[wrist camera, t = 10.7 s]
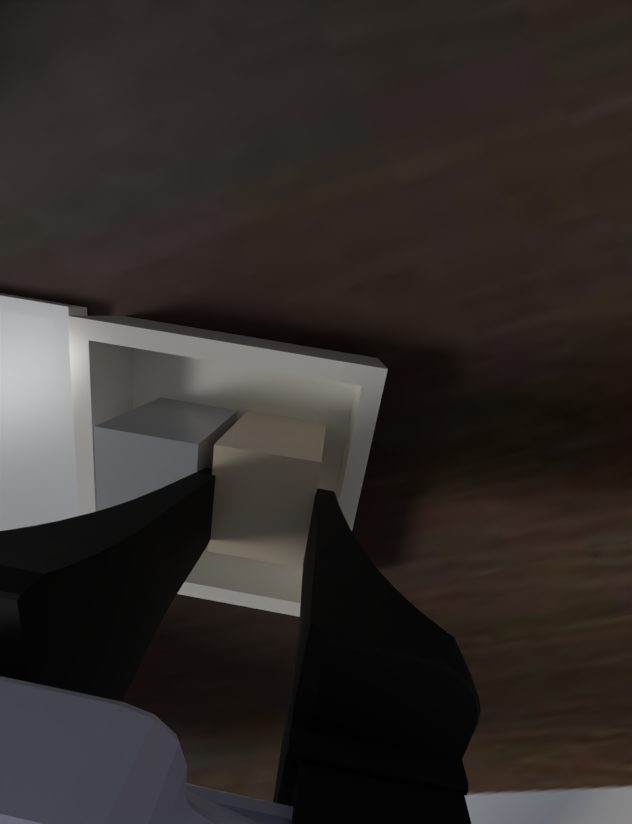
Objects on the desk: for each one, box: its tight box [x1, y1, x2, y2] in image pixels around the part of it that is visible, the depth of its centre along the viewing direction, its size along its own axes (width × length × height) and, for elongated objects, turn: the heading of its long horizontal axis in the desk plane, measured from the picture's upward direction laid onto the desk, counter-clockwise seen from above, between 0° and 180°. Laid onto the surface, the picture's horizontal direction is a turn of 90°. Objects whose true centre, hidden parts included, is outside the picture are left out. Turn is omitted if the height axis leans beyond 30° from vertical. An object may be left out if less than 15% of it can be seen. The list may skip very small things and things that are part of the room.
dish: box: [67, 316, 388, 617], centre depth 14 cm, size 11×11×3 cm
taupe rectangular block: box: [207, 411, 326, 568], centre depth 13 cm, size 4×3×4 cm
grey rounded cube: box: [94, 398, 237, 511], centre depth 13 cm, size 4×3×4 cm
